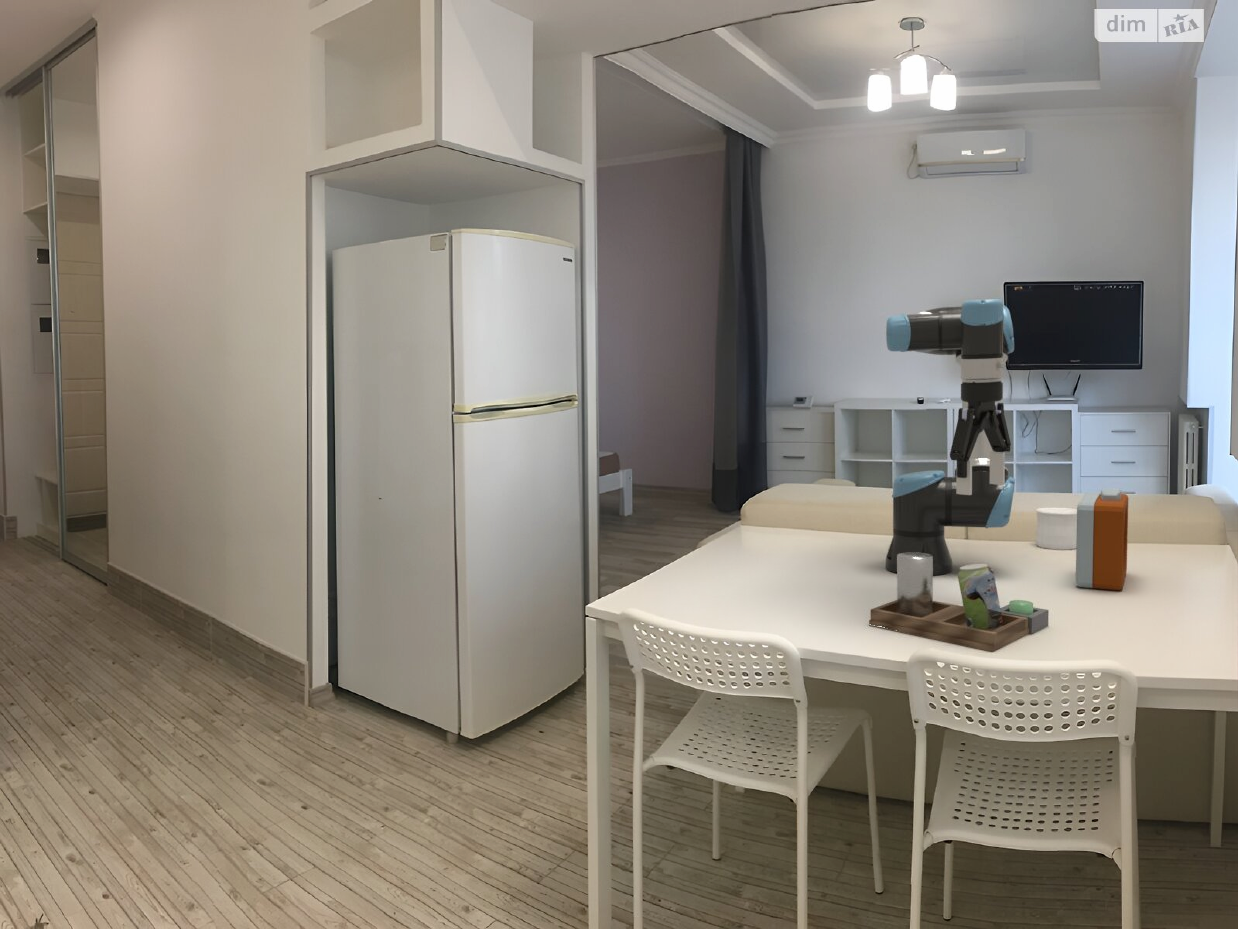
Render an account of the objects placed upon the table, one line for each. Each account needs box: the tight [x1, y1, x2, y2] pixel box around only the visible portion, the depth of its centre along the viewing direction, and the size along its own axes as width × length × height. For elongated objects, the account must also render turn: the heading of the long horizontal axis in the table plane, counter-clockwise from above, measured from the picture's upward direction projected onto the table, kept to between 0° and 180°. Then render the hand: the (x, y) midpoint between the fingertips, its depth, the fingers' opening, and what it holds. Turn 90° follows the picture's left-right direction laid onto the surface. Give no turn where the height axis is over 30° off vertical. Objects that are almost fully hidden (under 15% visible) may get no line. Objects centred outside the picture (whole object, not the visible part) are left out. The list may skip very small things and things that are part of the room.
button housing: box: [1000, 604, 1050, 635], centre depth 166 cm, size 7×7×3 cm
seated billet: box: [896, 552, 934, 618], centre depth 170 cm, size 6×6×12 cm
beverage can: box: [957, 562, 1003, 631], centre depth 160 cm, size 6×7×12 cm
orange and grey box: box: [1075, 487, 1129, 592], centre depth 196 cm, size 18×9×21 cm, turn 148°
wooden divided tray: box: [868, 599, 1030, 653], centre depth 165 cm, size 24×14×3 cm, turn 42°
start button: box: [1008, 599, 1034, 615], centre depth 165 cm, size 4×4×4 cm
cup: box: [1035, 507, 1077, 551], centre depth 233 cm, size 10×10×10 cm
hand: (980, 489), depth 175 cm, fingers open, 13 cm apart
